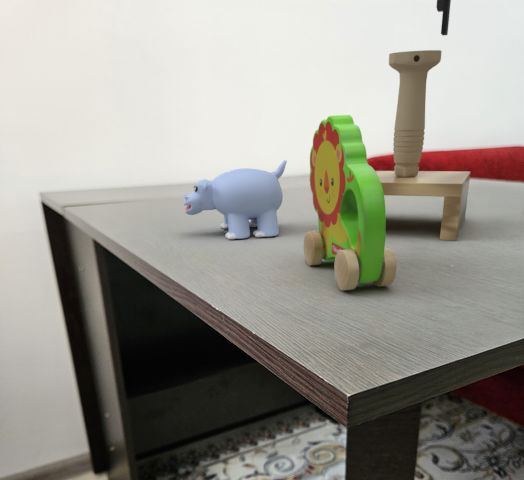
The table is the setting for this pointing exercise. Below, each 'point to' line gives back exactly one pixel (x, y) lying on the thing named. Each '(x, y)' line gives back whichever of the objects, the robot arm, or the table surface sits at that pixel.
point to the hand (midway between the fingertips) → (488, 30)
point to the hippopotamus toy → (241, 200)
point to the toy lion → (347, 208)
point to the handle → (411, 107)
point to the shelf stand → (434, 194)
